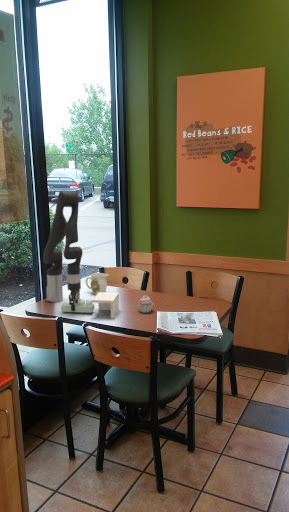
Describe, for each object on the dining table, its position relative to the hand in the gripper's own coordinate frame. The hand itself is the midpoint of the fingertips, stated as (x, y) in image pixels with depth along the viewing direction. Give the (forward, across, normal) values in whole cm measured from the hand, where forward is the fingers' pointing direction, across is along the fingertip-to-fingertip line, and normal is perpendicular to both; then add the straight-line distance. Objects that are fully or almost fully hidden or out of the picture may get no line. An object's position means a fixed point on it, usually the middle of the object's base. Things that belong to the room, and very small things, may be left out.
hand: (74, 309), depth 241 cm
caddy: (+1, 0, +2) cm, 2 cm away
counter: (+2, 0, +18) cm, 19 cm away
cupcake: (+2, -7, +41) cm, 41 cm away
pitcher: (+2, -41, +4) cm, 41 cm away
